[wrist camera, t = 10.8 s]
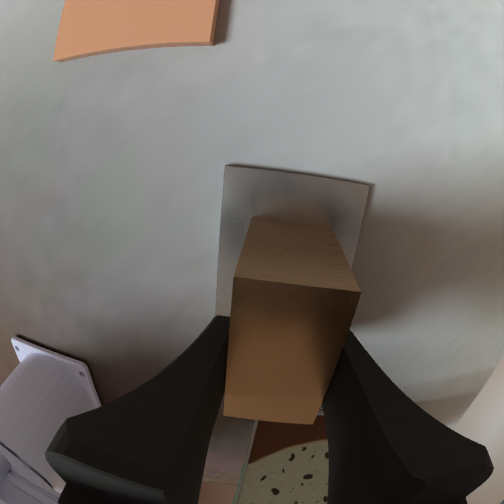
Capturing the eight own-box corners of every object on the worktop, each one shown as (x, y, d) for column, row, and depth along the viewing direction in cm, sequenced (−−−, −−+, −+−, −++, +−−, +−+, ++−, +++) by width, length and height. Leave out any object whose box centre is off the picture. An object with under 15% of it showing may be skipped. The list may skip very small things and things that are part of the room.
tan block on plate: (321, 361, 16) (330, 449, 11) (215, 348, 17) (191, 435, 11) (365, 183, 12) (424, 228, 7) (227, 164, 13) (186, 195, 7)
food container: (242, 453, 21) (226, 561, 12) (234, 411, 19) (210, 547, 9) (391, 445, 20) (410, 546, 10) (412, 400, 17) (448, 523, 8)
